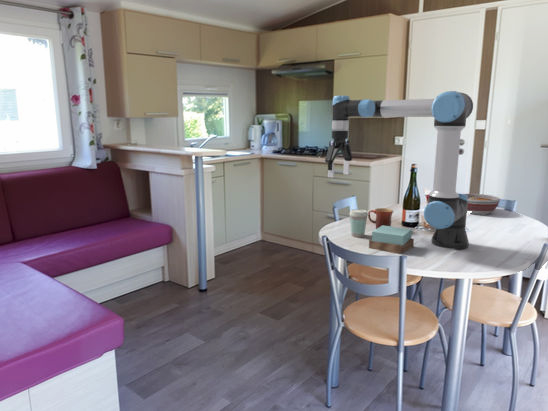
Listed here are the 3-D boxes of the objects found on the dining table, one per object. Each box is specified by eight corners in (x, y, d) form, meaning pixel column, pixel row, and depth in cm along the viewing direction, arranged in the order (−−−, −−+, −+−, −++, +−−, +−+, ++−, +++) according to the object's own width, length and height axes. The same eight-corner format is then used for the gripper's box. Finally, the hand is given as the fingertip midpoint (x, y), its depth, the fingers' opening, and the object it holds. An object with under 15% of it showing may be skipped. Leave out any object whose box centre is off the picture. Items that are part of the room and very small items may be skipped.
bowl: (449, 209, 268) (451, 193, 266) (489, 210, 265) (490, 193, 263) (461, 217, 245) (463, 200, 243) (504, 218, 243) (506, 200, 241)
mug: (393, 229, 220) (394, 208, 218) (391, 233, 212) (392, 212, 210) (369, 226, 224) (370, 207, 222) (365, 230, 216) (366, 210, 214)
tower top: (411, 238, 190) (411, 229, 190) (402, 245, 180) (403, 235, 179) (381, 234, 197) (382, 225, 196) (371, 240, 186) (372, 231, 186)
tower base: (413, 247, 190) (413, 238, 190) (400, 255, 180) (401, 246, 179) (382, 242, 199) (383, 233, 198) (368, 249, 188) (369, 240, 187)
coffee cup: (367, 238, 202) (368, 213, 200) (348, 237, 204) (349, 212, 202) (367, 233, 211) (368, 209, 208) (348, 233, 212) (349, 208, 210)
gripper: (346, 129, 216) (345, 172, 220) (317, 130, 197) (316, 177, 201) (360, 129, 211) (358, 173, 215) (332, 130, 193) (330, 179, 197)
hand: (338, 175), depth 208 cm, fingers open, 13 cm apart
